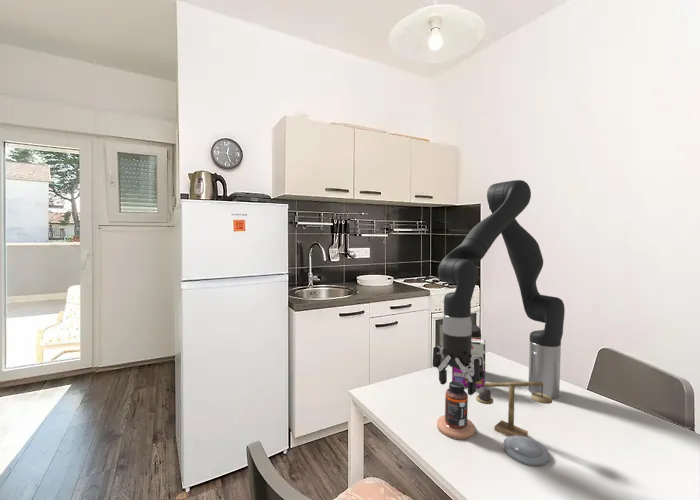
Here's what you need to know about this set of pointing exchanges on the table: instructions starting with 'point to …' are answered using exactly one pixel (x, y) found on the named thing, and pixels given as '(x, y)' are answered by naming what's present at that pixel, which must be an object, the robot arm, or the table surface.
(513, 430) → the balance
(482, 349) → the candy bar box
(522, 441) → the slate dish
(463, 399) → the supplement bottle
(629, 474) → the table surface
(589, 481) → the table surface
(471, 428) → the terracotta dish
